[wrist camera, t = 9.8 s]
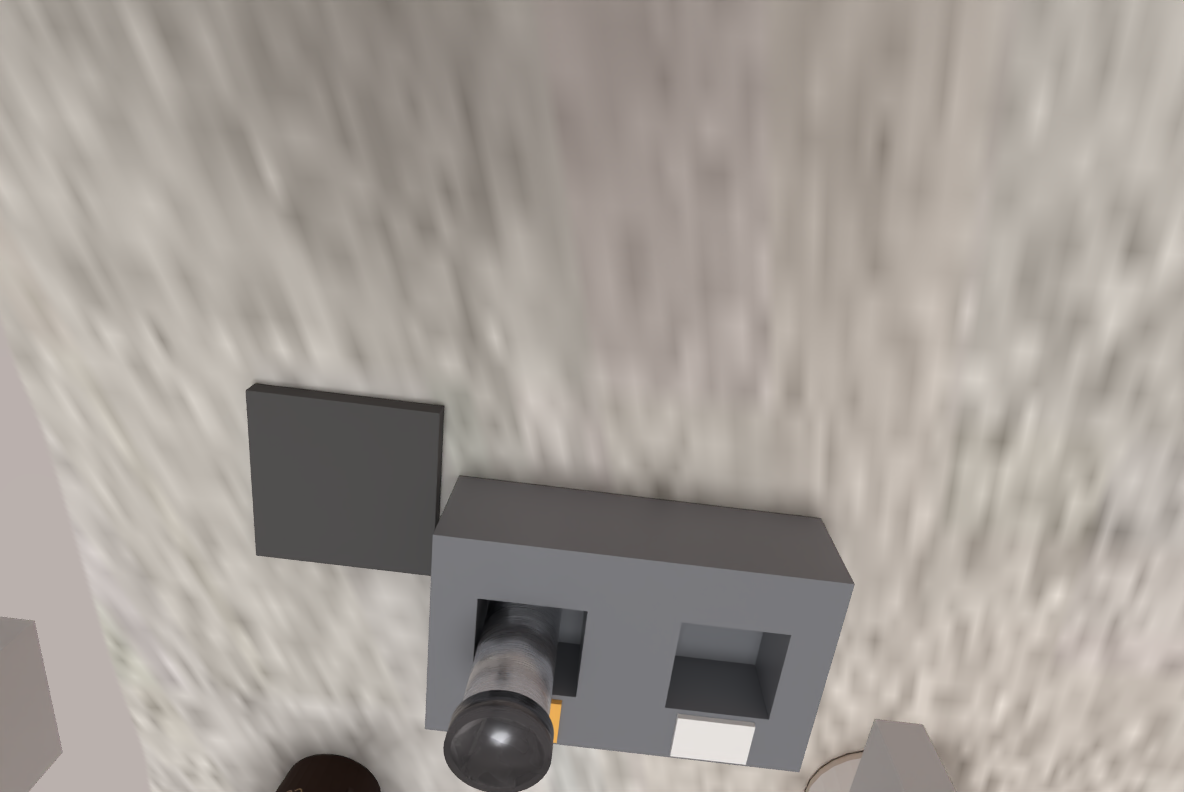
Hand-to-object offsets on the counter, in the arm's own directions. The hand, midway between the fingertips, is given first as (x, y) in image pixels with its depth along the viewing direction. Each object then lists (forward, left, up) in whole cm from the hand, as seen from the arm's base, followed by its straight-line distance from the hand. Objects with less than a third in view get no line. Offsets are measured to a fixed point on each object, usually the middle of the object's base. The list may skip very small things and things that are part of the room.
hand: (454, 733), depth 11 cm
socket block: (+16, +5, -26) cm, 31 cm away
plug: (+16, 0, -24) cm, 29 cm away
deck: (+11, -11, -26) cm, 30 cm away
